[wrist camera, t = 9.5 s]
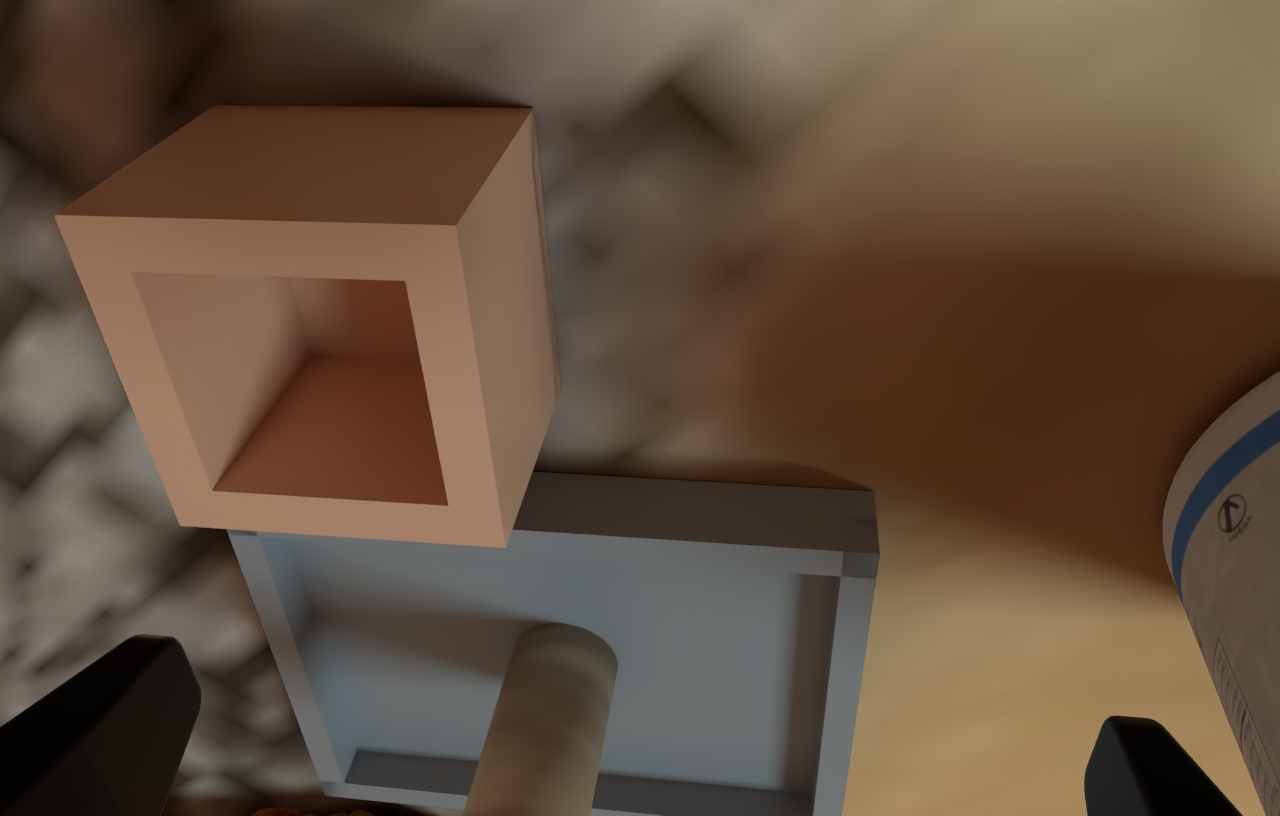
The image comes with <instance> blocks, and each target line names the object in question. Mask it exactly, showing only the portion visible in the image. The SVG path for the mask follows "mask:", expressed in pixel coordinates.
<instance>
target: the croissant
mask: <svg viewBox="0 0 1280 816" xmlns="http://www.w3.org/2000/svg"><path fill="white" fill-rule="evenodd" d="M249 816H313V815H312V814H308V813H305V812H303V811H301V810H298V809H285V808H275V807H270V808H267V809H260V810H259V811H257V812H256V813H255V814H252V815H249ZM314 816H315V815H314ZM329 816H376V815H373V814H371V813H369V812H367V811H365V810H354V811H353V812H352V813H351V814H350V815H348V814H347V813H346V812H342V813H337V814H332V815H329ZM400 816H402V815H400Z"/></svg>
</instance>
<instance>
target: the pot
mask: <svg viewBox="0 0 1280 816" xmlns="http://www.w3.org/2000/svg"><path fill="white" fill-rule="evenodd" d="M54 217H55V219H56V222H57V224H58V227H59V229H60V232H61V234H62V236H63V239H64V241H65V244H66V246H67V249H68V251H69V254H70V256H71V259H72V261H73V264H74V266H75V268H76V271H77V273H78V276H79V278H80V281H81V283H82V286H83V288H84V291H85V293H86V296H87V298H88V300H89V303H90V305H91V308H92V310H93V313H94V315H95V318H96V320H97V323H98V325H99V327H100V330H101V332H102V335H103V337H104V340H105V342H106V345H107V347H108V350H109V352H110V355H111V357H112V359H113V362H114V364H115V367H116V369H117V372H118V374H119V377H120V379H121V382H122V384H123V387H124V389H125V391H126V394H127V396H128V399H129V401H130V404H131V406H132V409H133V411H134V414H135V416H136V419H137V421H138V423H139V426H140V428H141V431H142V433H143V436H144V438H145V441H146V443H147V446H148V448H149V450H150V453H151V455H152V458H153V460H154V463H155V465H156V468H157V470H158V473H159V475H160V478H161V480H162V482H163V485H164V487H165V490H166V492H167V495H168V497H169V500H170V502H171V505H172V507H173V510H174V512H175V514H176V517H177V519H178V522H179V524H180V526H190V527H205V528H219V529H234V530H249V531H263V532H278V533H293V534H307V535H322V536H337V537H351V538H366V539H381V540H395V541H410V542H425V543H439V544H454V545H469V546H483V547H498V548H506V546H507V543H508V540H509V537H510V534H511V532H512V529H513V526H514V523H515V520H516V517H517V514H518V512H519V509H520V506H521V503H522V500H523V497H524V494H525V492H526V489H527V486H528V483H529V480H530V477H531V474H532V471H533V469H534V466H535V463H536V460H537V457H538V454H539V451H540V449H541V446H542V443H543V440H544V437H545V434H546V431H547V429H548V426H549V423H550V420H551V417H552V414H553V411H554V408H555V406H556V403H557V400H558V397H559V394H560V391H561V383H560V372H559V362H558V352H557V341H556V331H555V321H554V311H553V300H552V290H551V280H550V269H549V259H548V249H547V239H546V228H545V218H544V208H543V197H542V187H541V177H540V167H539V156H538V146H537V136H536V125H535V115H534V108H494V107H392V106H291V105H214V106H213V107H211V108H210V109H208V110H207V111H205V112H204V113H202V114H201V115H199V116H198V117H196V118H195V119H194V120H192V121H191V122H189V123H188V124H186V125H185V126H183V127H182V128H180V129H179V130H177V131H176V132H175V133H173V134H172V135H170V136H169V137H167V138H166V139H164V140H163V141H161V142H160V143H158V144H157V145H156V146H154V147H153V148H151V149H150V150H148V151H147V152H145V153H144V154H142V155H141V156H139V157H138V158H137V159H135V160H134V161H132V162H131V163H129V164H128V165H126V166H125V167H123V168H122V169H120V170H119V171H118V172H116V173H115V174H113V175H112V176H110V177H109V178H107V179H106V180H104V181H103V182H101V183H100V184H99V185H97V186H96V187H94V188H93V189H91V190H90V191H88V192H87V193H85V194H84V195H82V196H81V197H80V198H78V199H77V200H75V201H74V202H72V203H71V204H69V205H68V206H66V207H65V208H64V209H62V210H61V211H59V212H58V213H56V214H55V215H54Z"/></svg>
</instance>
